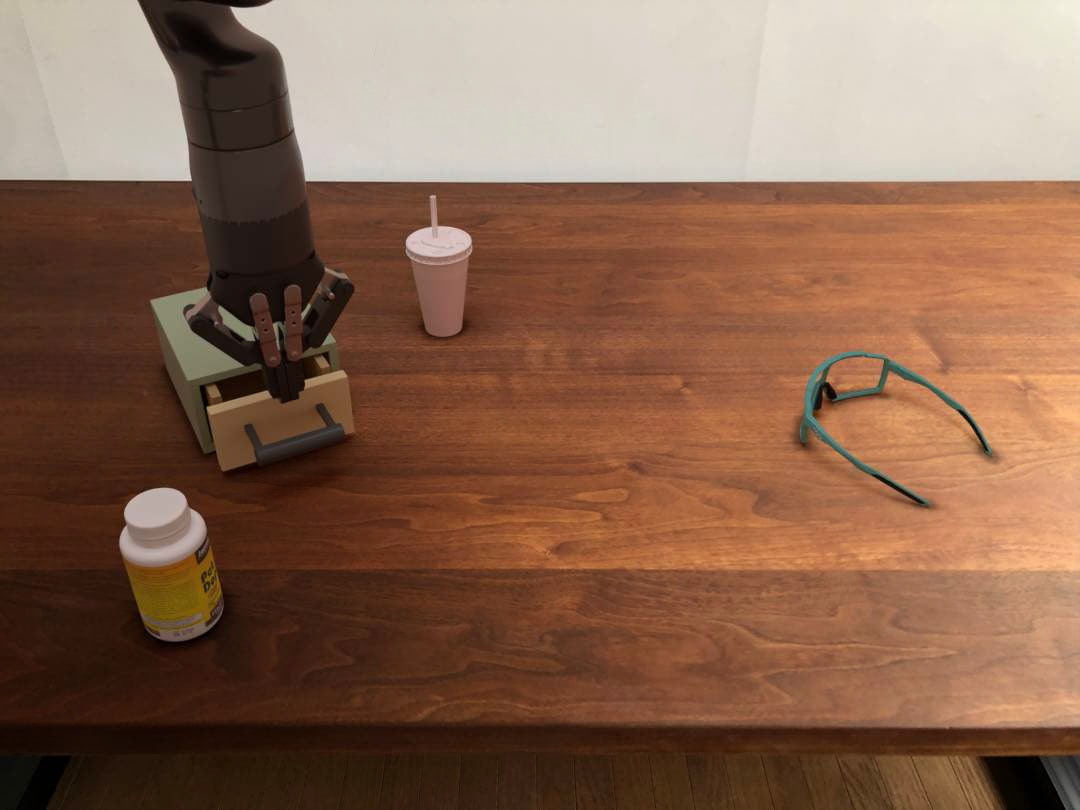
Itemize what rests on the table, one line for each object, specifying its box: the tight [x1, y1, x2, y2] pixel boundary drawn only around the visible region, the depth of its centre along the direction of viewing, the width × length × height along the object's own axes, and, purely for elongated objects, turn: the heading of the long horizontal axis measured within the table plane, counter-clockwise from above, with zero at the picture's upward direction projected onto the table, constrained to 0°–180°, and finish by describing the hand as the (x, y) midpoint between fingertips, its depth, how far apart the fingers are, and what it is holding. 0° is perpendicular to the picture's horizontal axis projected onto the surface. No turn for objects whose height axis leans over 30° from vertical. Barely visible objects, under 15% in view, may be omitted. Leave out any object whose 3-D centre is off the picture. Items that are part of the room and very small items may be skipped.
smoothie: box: [405, 194, 473, 338], centre depth 102 cm, size 6×6×14 cm
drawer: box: [199, 353, 355, 472], centre depth 90 cm, size 18×11×6 cm, turn 28°
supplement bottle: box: [118, 487, 225, 643], centre depth 72 cm, size 6×6×10 cm
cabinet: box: [149, 286, 341, 455], centre depth 95 cm, size 15×13×8 cm
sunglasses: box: [799, 350, 994, 507], centre depth 90 cm, size 14×15×5 cm
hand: (287, 396), depth 83 cm, fingers closed
